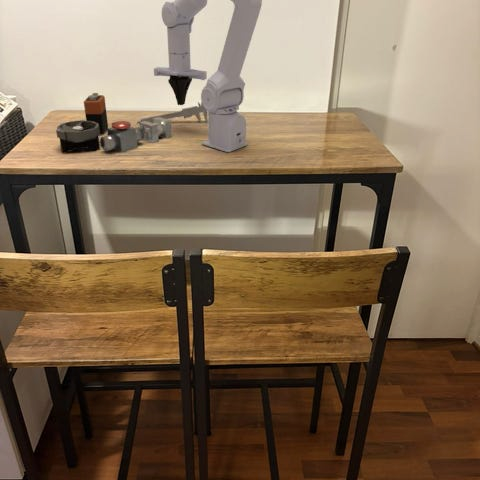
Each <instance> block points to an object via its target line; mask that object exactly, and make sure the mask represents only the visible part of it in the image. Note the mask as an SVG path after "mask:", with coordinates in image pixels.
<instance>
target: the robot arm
mask: <svg viewBox="0 0 480 480" xmlns="http://www.w3.org/2000/svg"><path fill="white" fill-rule="evenodd" d="M230 1H231V2H232V3H233V4H234V9H233V12H232V16H231V20H230V24H229V27H228V31H227V34H226V37H225V41H224V45H223V49H222V53H221V56H220V60H219V63H218V67H217V70H216V71H215V72H214V73H213V74H211V76H210V77H208V79H207V71H205V70H199V69H194V68H192V67H191V40H190V39H191V38H190V37H191V35H190V34H191V32H192V30H193V29H192V27H193V26H192V25H193V23H194V21H195V16H196V15H197V14H199V13H200V12H201V11H202V10H203V9H204V8H205V7H206V6H207V4H208V0H174V1H165V2H164V4H163V6H162V7H161V19H162V22H163V23H164V25H165V26H166V28H167V29H166V30H167V31H166V32H167V33H166V34H167V50H168V51H167V52H168V53H167V54H168V67H166V66H165V67H161V66H156V67H154V68H153V76H154V77H159V76H161V77H169V79H168V80H167V82H168V84H169V85H170V88H171V89H172V91H173V93H174V97H175V99H176V104H177V106H183V105H185V104H186V97H187V94H188V90H189V87H190V85H191V83H192V81H193V79H194V80H195V79H196V80H201V81H205V80H207V82H206V84H205V86H204V87H203V88H202V90H201V93H200V101H201V102H202V104H203V106H204V108H205V109H206V111H207V122H208V123H207V124H208V139H207V140H205V141H202V142H201V145H204V146H206V147H210V148H213V149H216V150H220V151H222V152H223V151H224V152H226V153H230V152H233V151H236V150H238V149H241V148H243V147H245V146H248V142H247V121H246V118H245V116H243V115H242V114H240V113H239V112H238V111H239V110H240V105H242V104H243V101H244V97H245V96H244V90H245V86H246V83H245V82H244V80H243V78H242V77H241V74H242V71H243V66H244V63H245V61H246V60H245V59H246V57H247V55H248V51H249V48H250V44H251V42H252V39H253V38H252V37H253V34H254V31H255V28H256V26H257V22H258V18H259V16H260V14H261V13H260V12H261V9H262V5H263V0H230Z"/></svg>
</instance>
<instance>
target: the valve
mask: <svg viewBox="0 0 480 480" xmlns="http://www.w3.org/2000/svg"><path fill="white" fill-rule="evenodd" d="M106 132H107V135H104V136H101V137H100V138H99V145H100V148H102V150H103V151H105V152H109V151H112V150H114V151H117V152H120V153H125V152H127V151H131V150H133V149H137V148H138V142H142V141H144V140H143V139H144V133H143V130H142V129H141V128H140V126H137V127H133V126H131V122H130V121H126V120H118V121H114V122H112V123H111V127H108V128H107V129H106Z"/></svg>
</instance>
